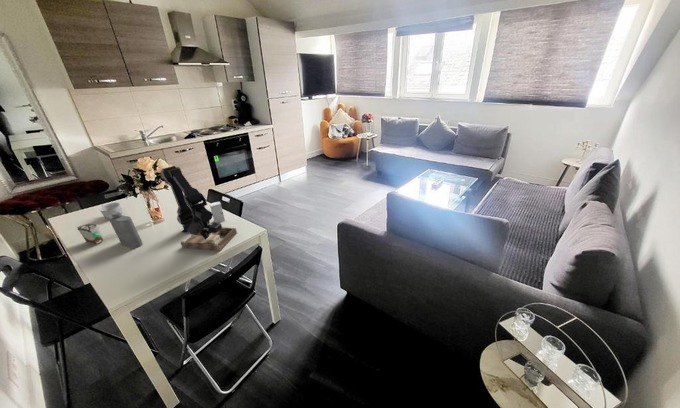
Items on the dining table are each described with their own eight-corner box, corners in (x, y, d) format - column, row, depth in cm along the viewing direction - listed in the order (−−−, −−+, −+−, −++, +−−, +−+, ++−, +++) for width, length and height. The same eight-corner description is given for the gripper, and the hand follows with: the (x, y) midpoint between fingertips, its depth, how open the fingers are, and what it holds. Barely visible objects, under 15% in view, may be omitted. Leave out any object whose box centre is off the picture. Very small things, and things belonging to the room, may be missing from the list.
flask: (117, 243, 149) (101, 213, 139) (128, 238, 153) (113, 208, 144) (134, 249, 143) (118, 218, 134) (144, 243, 148) (130, 213, 138)
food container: (110, 239, 153) (102, 224, 148) (99, 245, 148) (90, 230, 143) (96, 235, 157) (88, 221, 152) (84, 241, 152) (76, 227, 147)
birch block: (207, 244, 142) (205, 239, 141) (212, 238, 146) (211, 234, 145) (215, 244, 141) (213, 240, 140) (220, 239, 146) (219, 234, 144)
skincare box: (215, 223, 165) (210, 206, 159) (213, 220, 168) (208, 203, 162) (225, 220, 168) (220, 203, 162) (224, 217, 171) (219, 201, 165)
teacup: (127, 215, 179) (122, 204, 175) (108, 222, 171) (102, 211, 167) (118, 210, 185) (113, 200, 182) (99, 217, 177) (94, 206, 174)
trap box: (182, 247, 143) (180, 241, 142) (202, 230, 158) (200, 224, 156) (220, 251, 139) (218, 245, 137) (237, 233, 154) (235, 227, 152)
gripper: (172, 221, 131) (181, 247, 138) (205, 224, 128) (213, 250, 135) (187, 210, 141) (195, 235, 148) (218, 213, 137) (225, 237, 145)
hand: (207, 239), depth 144 cm, fingers closed
